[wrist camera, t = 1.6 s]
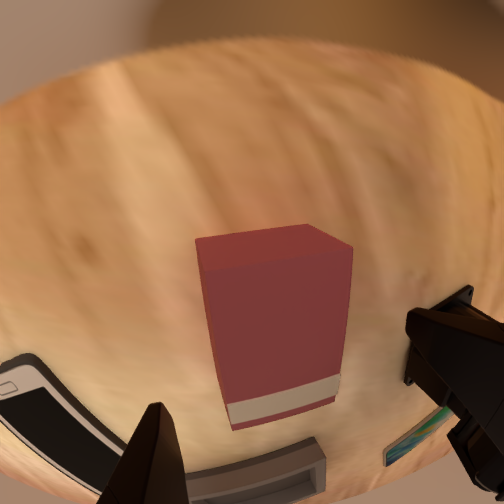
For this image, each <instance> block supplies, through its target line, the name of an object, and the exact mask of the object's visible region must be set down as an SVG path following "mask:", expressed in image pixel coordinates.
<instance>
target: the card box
mask: <svg viewBox="0 0 504 504" xmlns="http://www.w3.org/2000/svg"><path fill="white" fill-rule="evenodd" d="M195 243H196V250H197V258H198V265H199V272H200V279H201V286H202V293H203V299H204V305H205V312H206V318H207V324H208V330H209V335H210V341H211V346H212V352H213V357H214V363H215V368H216V373H217V378H218V382H219V386H220V390H221V393H222V397H223V400H224V404H225V408H226V411H227V414H228V418H229V421H230V425H231V428H232V431H234V430H239V429H243V428H248V427H252V426H256V425H260V424H264V423H268V422H272V421H276V420H279V419H283V418H286V417H290V416H293V415H296V414H300V413H303V412H306V411H309V410H312V409H315V408H318V407H321V406H324V405H327V404H329V403H332V402H334V401H335V396H336V395H337V393H338V387H339V382H340V376H341V374H340V368H341V362H342V355H343V348H344V341H345V334H346V326H347V317H348V308H349V299H350V288H351V276H352V261H353V247H352V246H350V245H348V244H346V243H344V242H342V241H340V240H338V239H336V238H334V237H332V236H330V235H329V234H327V233H325V232H323V231H321V230H319V229H317V228H315V227H313V226H311V225H309V224H302V225H294V226H286V227H278V228H271V229H263V230H255V231H248V232H240V233H233V234H225V235H218V236H211V237H204V238H197V239H195Z"/></svg>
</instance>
